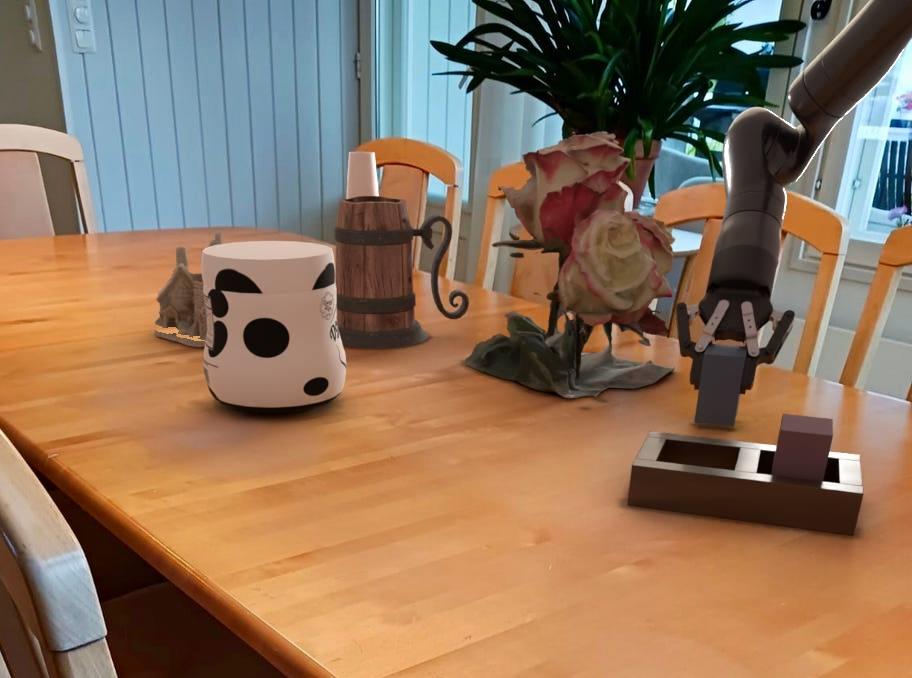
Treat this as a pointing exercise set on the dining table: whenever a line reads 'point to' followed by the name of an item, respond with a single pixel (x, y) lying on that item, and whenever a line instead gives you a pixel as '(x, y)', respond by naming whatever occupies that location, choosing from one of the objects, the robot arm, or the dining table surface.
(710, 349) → the blue-gray rectangular block
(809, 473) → the seated pad
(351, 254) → the tankard
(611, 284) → the rose bouquet
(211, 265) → the milk container
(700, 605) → the dining table surface
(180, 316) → the ceramic cottage
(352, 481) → the dining table surface
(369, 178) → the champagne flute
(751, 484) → the frame
